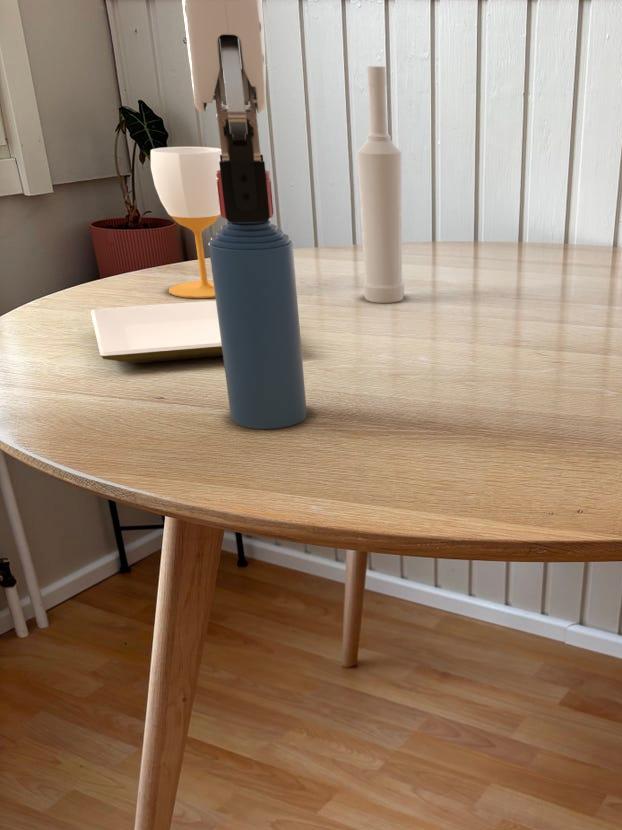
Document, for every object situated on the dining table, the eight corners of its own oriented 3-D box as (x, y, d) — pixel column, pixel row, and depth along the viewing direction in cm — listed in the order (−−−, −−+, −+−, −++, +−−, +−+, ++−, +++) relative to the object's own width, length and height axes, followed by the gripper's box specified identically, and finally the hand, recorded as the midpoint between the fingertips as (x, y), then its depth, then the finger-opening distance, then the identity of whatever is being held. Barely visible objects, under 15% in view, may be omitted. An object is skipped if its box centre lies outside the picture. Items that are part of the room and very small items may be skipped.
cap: (238, 221, 70) (233, 175, 68) (211, 215, 72) (206, 170, 70) (283, 217, 72) (279, 172, 70) (256, 211, 74) (252, 167, 73)
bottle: (402, 293, 121) (397, 66, 107) (406, 302, 116) (401, 67, 103) (362, 294, 120) (351, 65, 106) (365, 303, 116) (354, 66, 102)
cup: (247, 283, 124) (232, 147, 116) (234, 299, 117) (217, 154, 108) (178, 282, 124) (157, 145, 115) (160, 298, 116) (138, 153, 108)
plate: (93, 327, 104) (89, 308, 103) (262, 315, 110) (260, 296, 109) (104, 375, 89) (99, 353, 88) (297, 357, 96) (295, 337, 94)
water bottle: (240, 433, 77) (209, 185, 67) (224, 409, 82) (193, 174, 72) (315, 423, 79) (296, 182, 69) (295, 400, 84) (275, 172, 74)
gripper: (164, -74, 68) (200, 201, 78) (148, -101, 55) (193, 236, 65) (269, -69, 70) (291, 200, 80) (278, -95, 56) (304, 234, 66)
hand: (247, 213), depth 72 cm, fingers closed on cap, 3 cm apart
